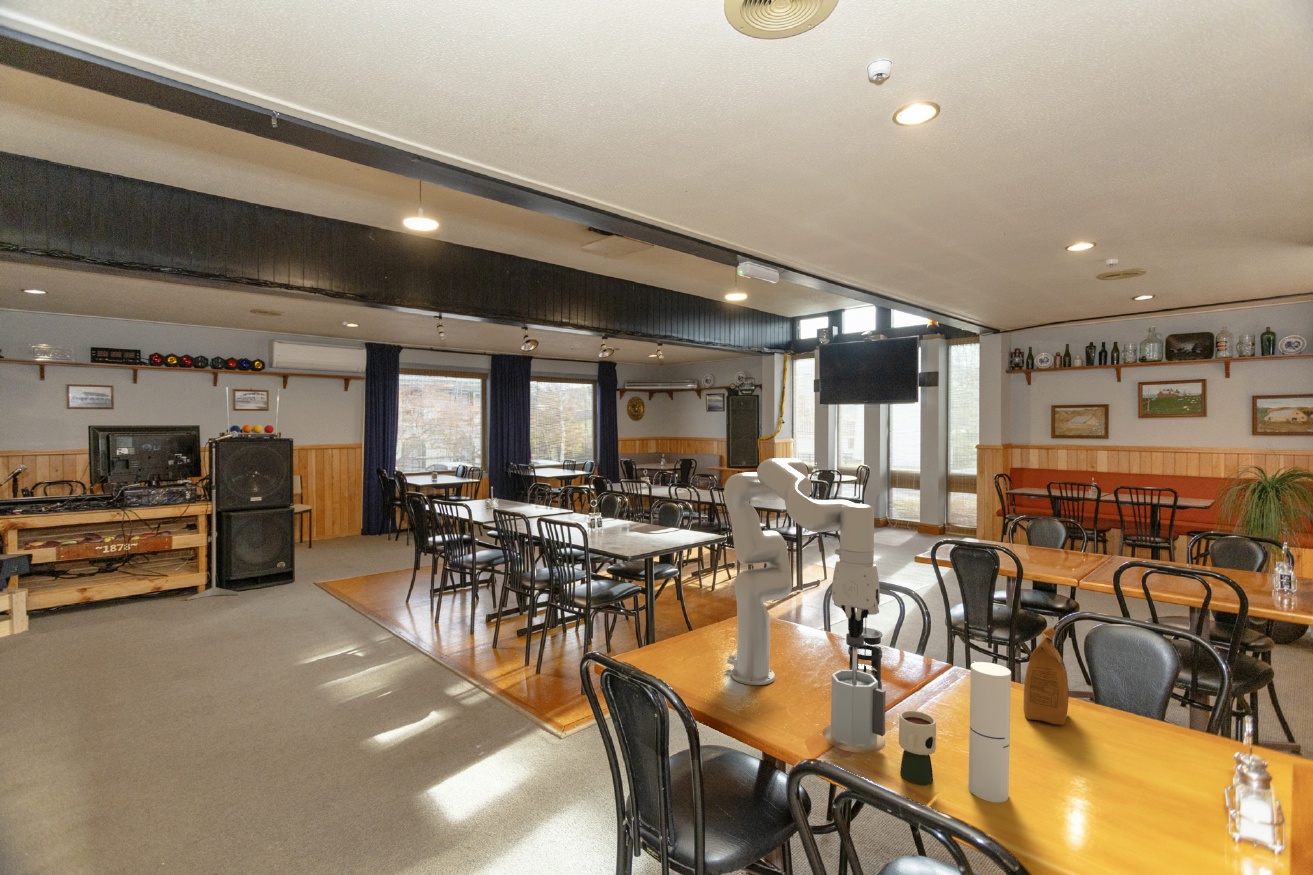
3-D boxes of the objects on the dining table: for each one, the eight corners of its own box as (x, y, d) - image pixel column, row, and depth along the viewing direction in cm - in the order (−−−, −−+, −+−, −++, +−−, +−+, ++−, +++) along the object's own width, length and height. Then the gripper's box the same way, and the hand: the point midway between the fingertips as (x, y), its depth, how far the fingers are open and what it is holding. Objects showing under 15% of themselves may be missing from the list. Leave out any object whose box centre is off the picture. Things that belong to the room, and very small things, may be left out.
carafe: (824, 736, 144) (825, 677, 144) (844, 722, 151) (845, 666, 151) (873, 756, 136) (874, 693, 136) (892, 740, 143) (893, 680, 143)
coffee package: (1072, 713, 159) (1074, 629, 159) (1065, 731, 150) (1067, 641, 149) (1028, 702, 166) (1029, 621, 165) (1019, 718, 156) (1020, 632, 156)
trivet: (811, 739, 144) (811, 736, 144) (840, 719, 154) (840, 717, 154) (868, 762, 135) (868, 759, 135) (895, 739, 145) (895, 737, 145)
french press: (867, 703, 164) (869, 617, 163) (838, 691, 171) (839, 609, 171) (893, 693, 171) (894, 610, 170) (863, 681, 178) (864, 602, 178)
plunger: (833, 687, 144) (834, 635, 144) (847, 679, 149) (848, 628, 149) (861, 697, 139) (862, 642, 139) (875, 688, 144) (876, 635, 144)
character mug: (928, 797, 122) (929, 732, 122) (891, 785, 126) (892, 722, 126) (940, 773, 131) (941, 712, 130) (905, 762, 135) (906, 703, 135)
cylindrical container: (961, 782, 127) (963, 662, 127) (993, 780, 128) (996, 661, 128) (982, 803, 120) (984, 676, 120) (1016, 801, 121) (1019, 675, 121)
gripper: (819, 554, 146) (818, 631, 147) (880, 564, 136) (879, 647, 136) (835, 550, 152) (834, 624, 152) (894, 559, 141) (893, 639, 142)
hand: (855, 634), depth 144 cm, fingers closed
